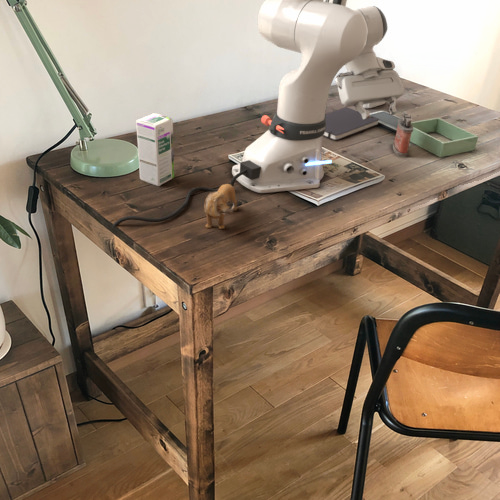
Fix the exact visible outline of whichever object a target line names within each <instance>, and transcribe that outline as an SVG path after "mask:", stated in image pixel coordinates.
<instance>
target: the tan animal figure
mask: <svg viewBox="0 0 500 500" xmlns="http://www.w3.org/2000/svg"><path fill="white" fill-rule="evenodd" d="M217 190H218V191H217V192H215V191H211V192H209V194H208V195H207V196H206V198H205V199H204V204H203V211H204V214H205V216H206V221H207V223H206V224H205V225H204V226H205V228H206V229H211V228H212V226H213V223H212V220H217V219H218V221H217V222H218V223H217V226H218V229H220V230H223V229H225V228H226V226H225V225H224V220H225V215H226V213H227V211H229V209H230V206H228V205H227V204H230V203H232V207H231V210H232V211H237V210H238V206H237V205H238V200H237V198H236V189H235V187H234V186H232V185H231V183H225V184H222V185H220V186H219V188H218V189H217Z"/></svg>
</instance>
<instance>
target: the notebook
mask: <svg viewBox="0 0 500 500" xmlns="http://www.w3.org/2000/svg"><path fill="white" fill-rule="evenodd" d="M325 117H326V127H325V133H324V135H323V137H325V138H328V139H330V140H333V141H338V140H341V139H344V138H346V137H349V136H352V135H354V134H357V133H360V132H362V131H365V130H367V129H371V128H373V127H376V126H378V125H379V121H380V118H378V117H375V116H373V115H370V118H368V119H363V118H362V115H361V114H360V113H359V112H358V111H357V110H356V109H353V108H350V107H345V106H344V107H342V108H339V109H335V110H333V111H330V112H328V113H325Z"/></svg>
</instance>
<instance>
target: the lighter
mask: <svg viewBox="0 0 500 500" xmlns="http://www.w3.org/2000/svg"><path fill="white" fill-rule="evenodd" d="M401 117H402V118H398V119H397V127H396V132H395V135H394V141H393V143H392V150H393V152H394V153H395V154H396V156H397V157H401V158H406V157H408V155H409V146H410V138H411V133H412V132H413V126H412V124H411V122H413V120H412V115H410V114H409V113H408V112H407V111H402V114H401Z"/></svg>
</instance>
